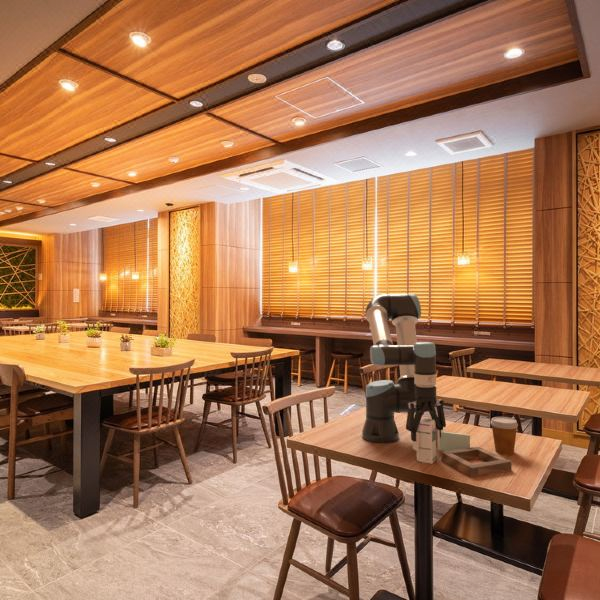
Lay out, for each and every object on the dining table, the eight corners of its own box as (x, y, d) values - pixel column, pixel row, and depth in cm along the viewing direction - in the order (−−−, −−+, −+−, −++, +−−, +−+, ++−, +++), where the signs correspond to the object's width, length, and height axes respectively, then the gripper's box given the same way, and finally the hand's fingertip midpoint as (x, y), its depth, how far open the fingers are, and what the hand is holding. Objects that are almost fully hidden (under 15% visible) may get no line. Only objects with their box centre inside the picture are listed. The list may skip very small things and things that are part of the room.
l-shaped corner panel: (470, 455, 163) (469, 435, 163) (436, 451, 169) (436, 431, 168) (472, 445, 174) (471, 426, 174) (440, 441, 179) (440, 423, 179)
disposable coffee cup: (519, 449, 167) (519, 418, 167) (517, 458, 158) (517, 424, 158) (492, 445, 171) (491, 415, 171) (489, 453, 163) (488, 421, 163)
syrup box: (432, 464, 154) (432, 423, 154) (416, 461, 157) (415, 420, 157) (436, 459, 159) (436, 419, 159) (420, 456, 162) (420, 416, 162)
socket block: (441, 460, 158) (441, 451, 158) (478, 454, 163) (478, 446, 163) (472, 477, 142) (471, 468, 142) (511, 470, 147) (511, 461, 147)
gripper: (405, 389, 151) (406, 455, 151) (456, 384, 157) (457, 448, 158) (394, 385, 158) (395, 448, 158) (443, 381, 165) (444, 441, 165)
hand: (426, 448), depth 158 cm, fingers closed on syrup box, 8 cm apart
